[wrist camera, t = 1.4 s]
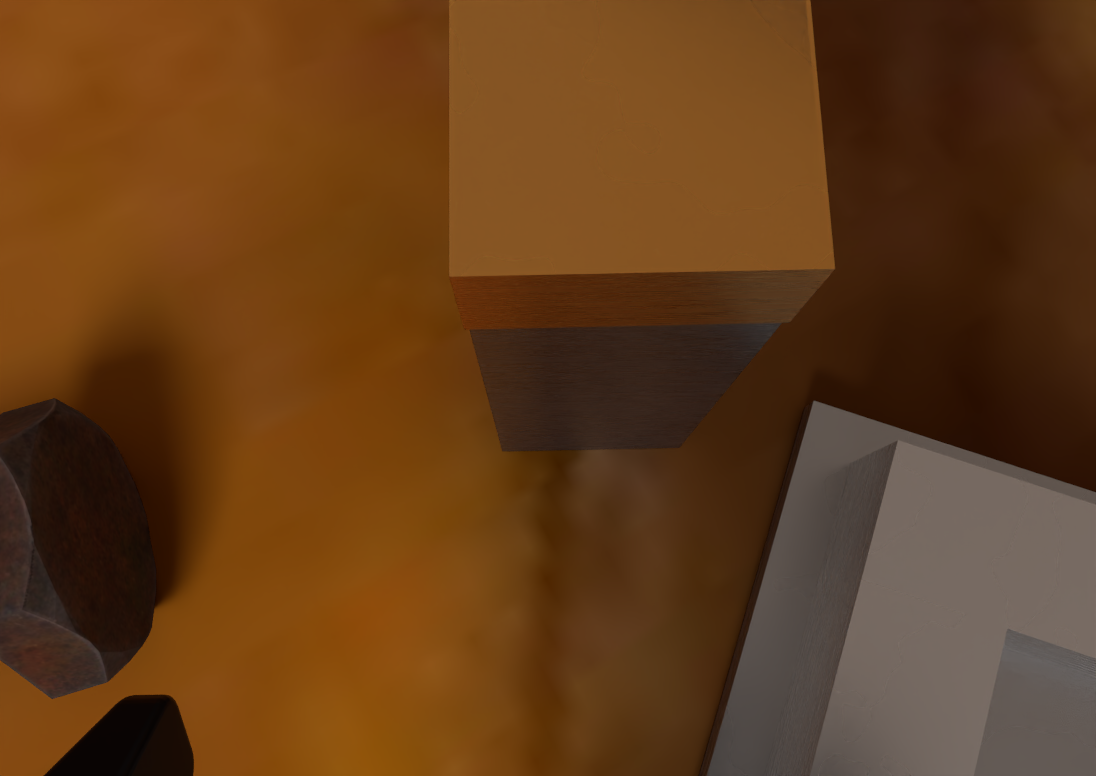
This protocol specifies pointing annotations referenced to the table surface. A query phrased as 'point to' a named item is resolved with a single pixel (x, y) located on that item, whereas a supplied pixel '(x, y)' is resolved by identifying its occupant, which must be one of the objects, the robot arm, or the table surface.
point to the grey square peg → (630, 206)
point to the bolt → (69, 551)
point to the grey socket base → (914, 616)
